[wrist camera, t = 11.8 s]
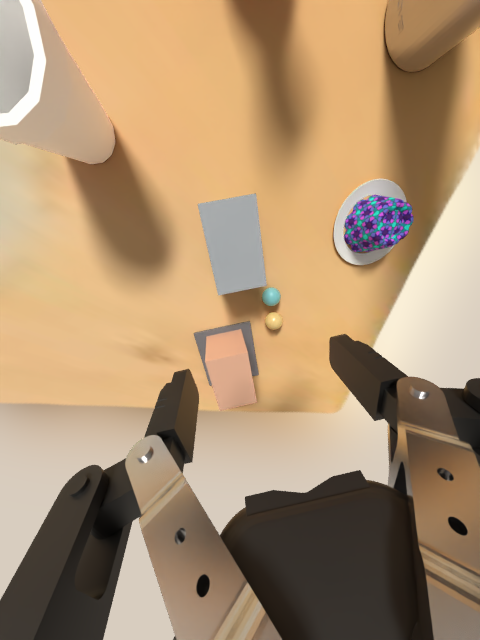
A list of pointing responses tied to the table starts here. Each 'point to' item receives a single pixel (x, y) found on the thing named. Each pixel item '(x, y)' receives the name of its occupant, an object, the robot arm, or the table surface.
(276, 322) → the marble
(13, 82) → the foam cup
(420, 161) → the table surface
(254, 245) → the plate
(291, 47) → the table surface
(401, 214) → the pudding
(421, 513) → the robot arm
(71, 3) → the table surface
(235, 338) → the cover terracotta
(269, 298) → the marble
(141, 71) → the table surface
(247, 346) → the mat
